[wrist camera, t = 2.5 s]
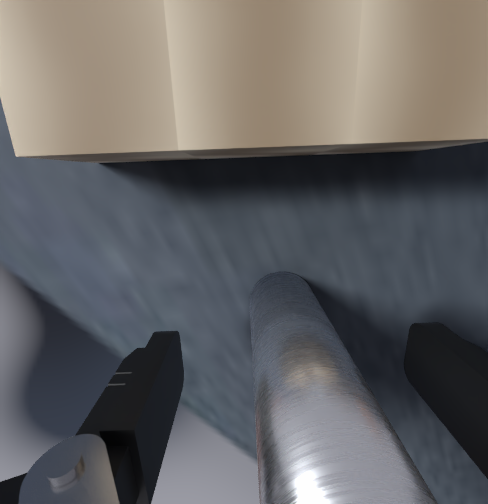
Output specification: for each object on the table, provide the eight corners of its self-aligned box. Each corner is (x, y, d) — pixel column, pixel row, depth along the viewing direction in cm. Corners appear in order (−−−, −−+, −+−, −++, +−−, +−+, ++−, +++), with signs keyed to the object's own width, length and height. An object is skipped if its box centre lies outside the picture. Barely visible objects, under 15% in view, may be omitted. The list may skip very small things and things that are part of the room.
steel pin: (313, 270, 12) (585, 638, 3) (311, 327, 13) (507, 766, 3) (248, 272, 12) (269, 647, 3) (250, 329, 13) (271, 772, 3)
